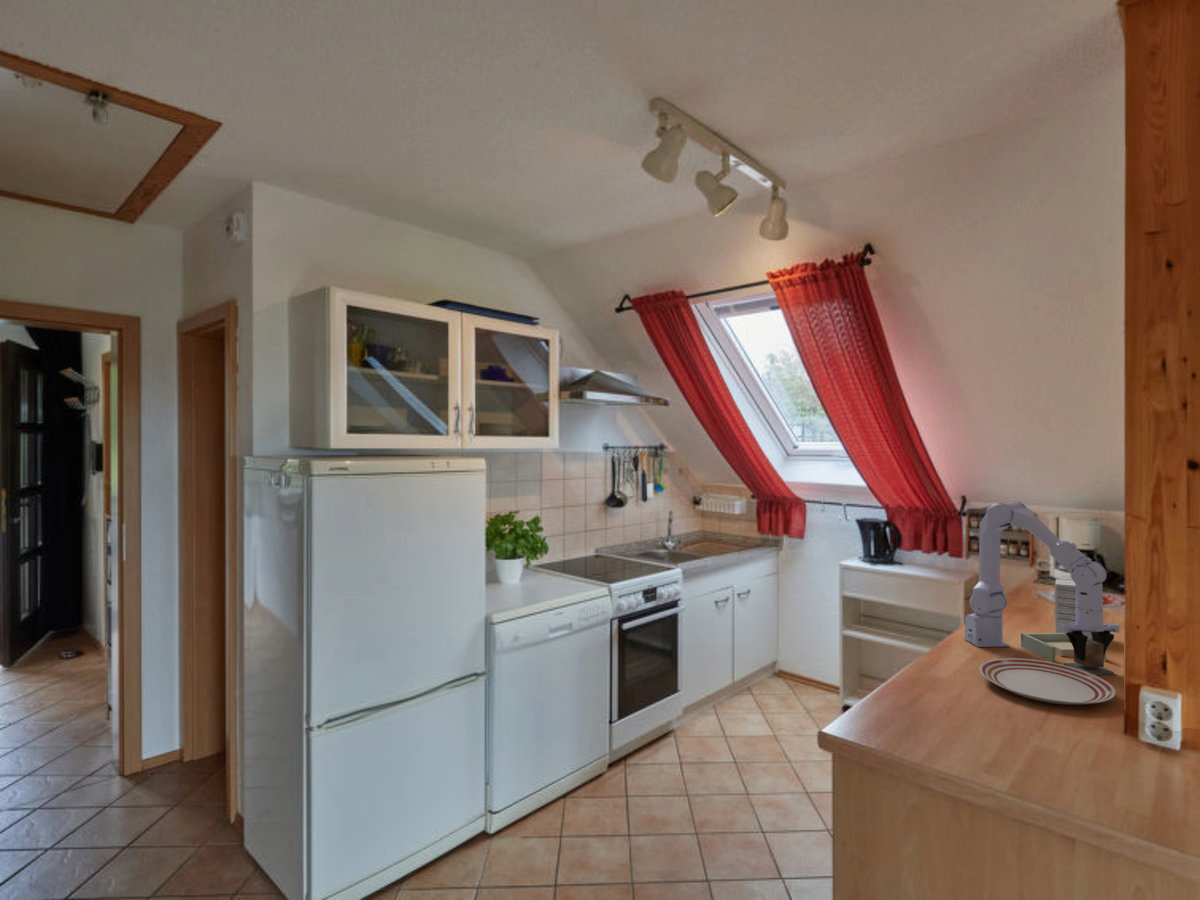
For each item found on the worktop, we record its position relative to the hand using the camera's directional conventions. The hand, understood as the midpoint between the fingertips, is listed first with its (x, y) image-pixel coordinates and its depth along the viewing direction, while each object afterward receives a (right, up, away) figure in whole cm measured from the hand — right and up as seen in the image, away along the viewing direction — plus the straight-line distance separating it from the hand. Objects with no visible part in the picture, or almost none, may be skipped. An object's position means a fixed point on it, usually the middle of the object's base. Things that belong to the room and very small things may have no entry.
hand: (1089, 658), depth 168 cm
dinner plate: (-21, -4, -13) cm, 25 cm away
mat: (0, -3, 0) cm, 3 cm away
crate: (+2, -3, +13) cm, 13 cm away
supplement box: (+17, -3, +29) cm, 34 cm away
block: (0, -2, 0) cm, 2 cm away
